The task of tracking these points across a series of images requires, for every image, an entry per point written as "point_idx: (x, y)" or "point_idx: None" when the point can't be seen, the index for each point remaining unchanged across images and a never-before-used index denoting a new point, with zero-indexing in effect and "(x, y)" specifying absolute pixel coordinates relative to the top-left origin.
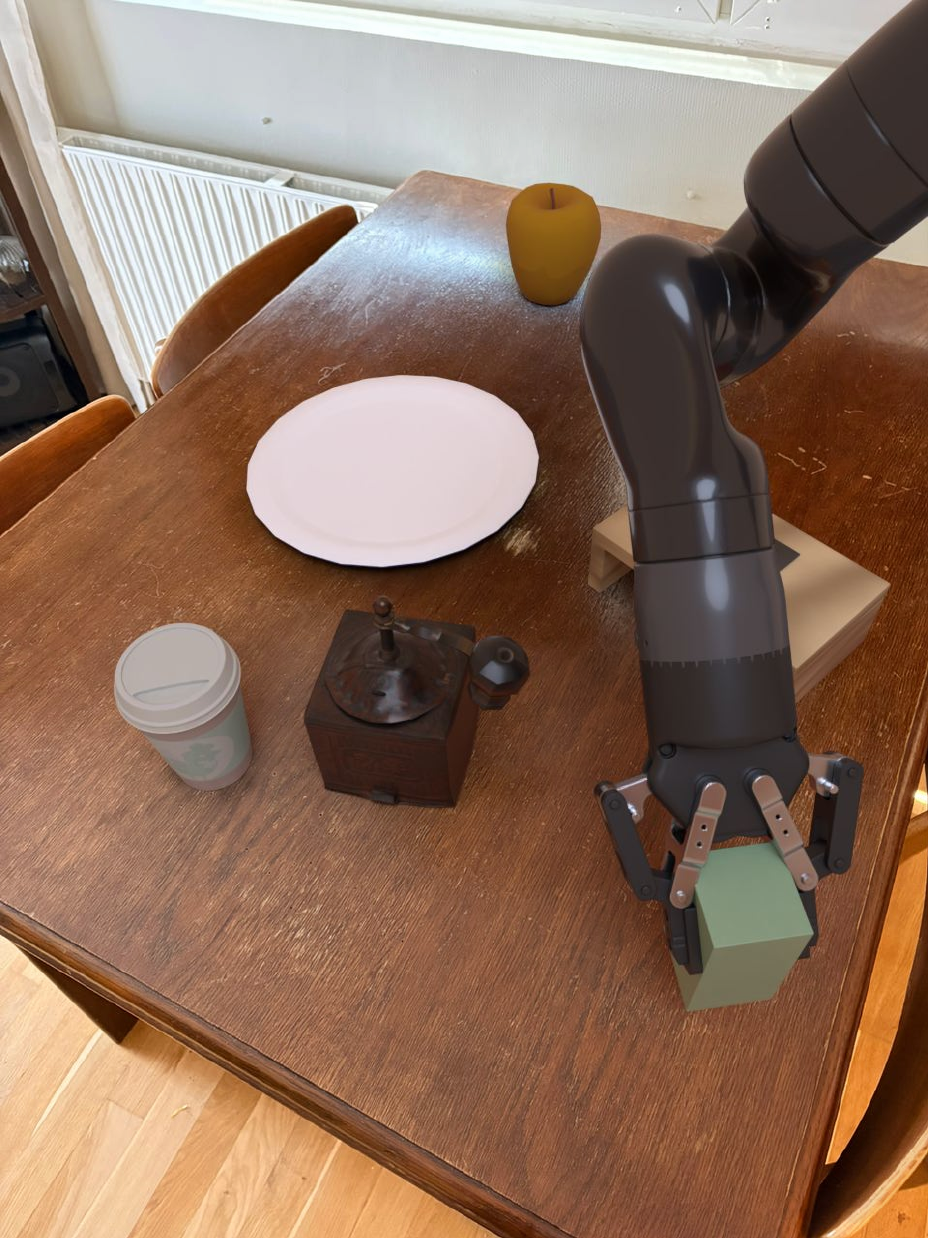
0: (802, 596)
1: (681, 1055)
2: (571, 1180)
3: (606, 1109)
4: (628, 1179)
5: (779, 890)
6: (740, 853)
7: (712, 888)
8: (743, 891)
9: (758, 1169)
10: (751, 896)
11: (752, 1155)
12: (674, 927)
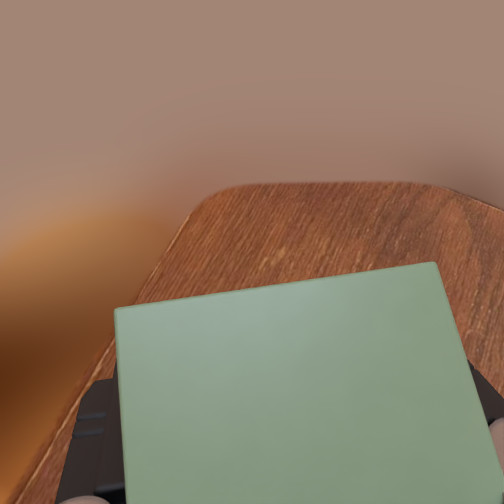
0: None
1: None
2: (421, 219)
3: None
4: (360, 221)
5: (194, 471)
6: None
7: (442, 475)
8: (329, 464)
9: (216, 232)
10: (302, 443)
11: (221, 245)
12: (482, 388)
